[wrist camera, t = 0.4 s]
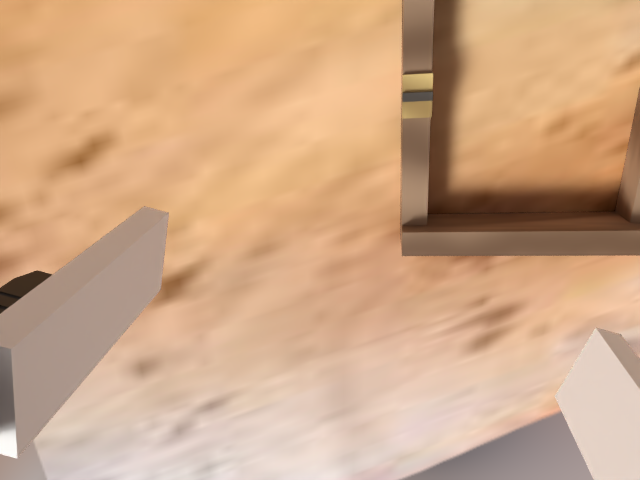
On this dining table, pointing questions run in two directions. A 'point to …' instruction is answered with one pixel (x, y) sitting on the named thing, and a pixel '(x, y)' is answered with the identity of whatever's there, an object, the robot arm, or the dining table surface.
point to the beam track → (494, 228)
